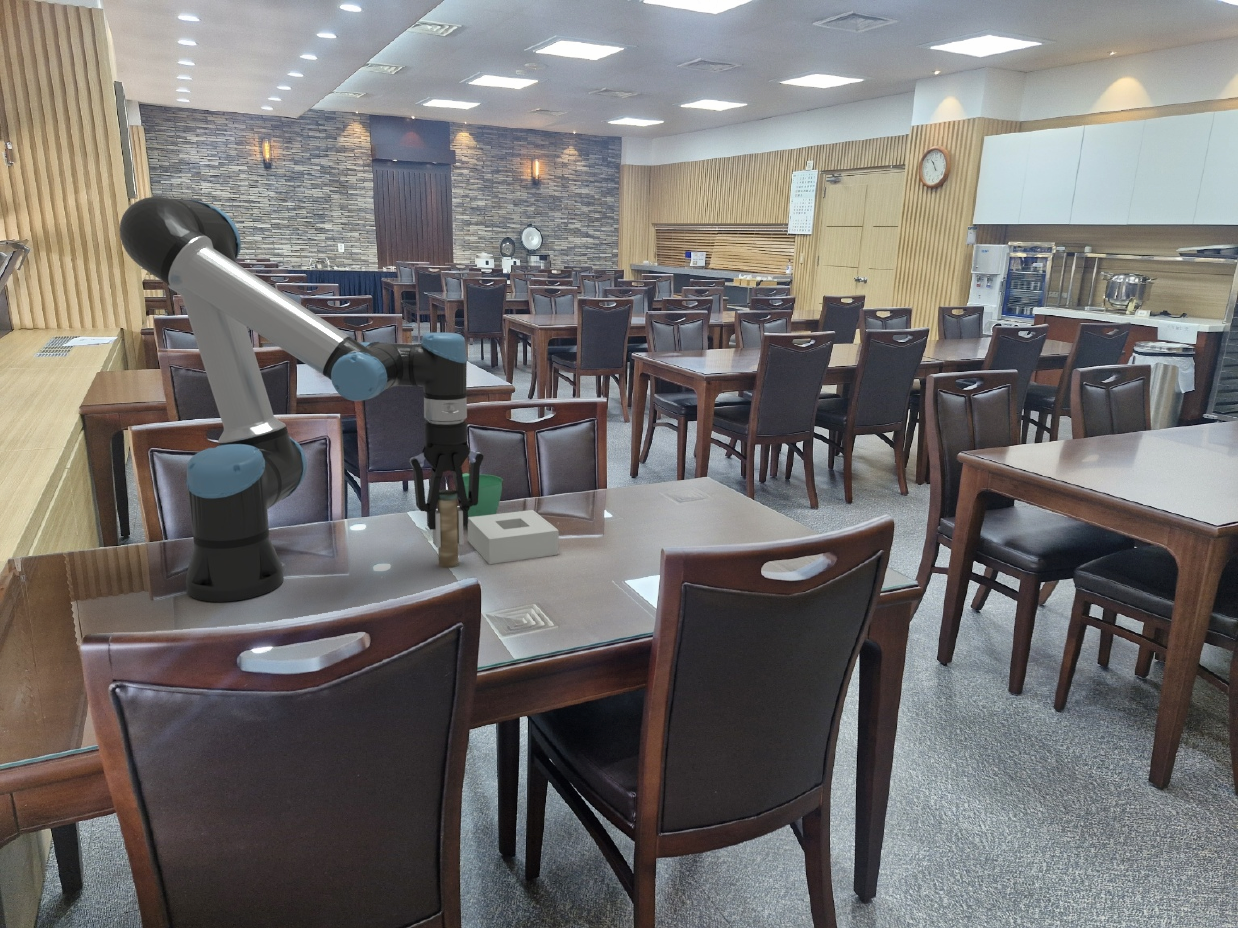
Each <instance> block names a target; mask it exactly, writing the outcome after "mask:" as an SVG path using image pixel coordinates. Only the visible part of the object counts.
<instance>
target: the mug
mask: <svg viewBox="0 0 1238 928" xmlns="http://www.w3.org/2000/svg"><path fill="white" fill-rule="evenodd" d="M462 476H463V481H464V486H465V491H466V496H467V499H468V489H469V472H466V473H463V475H462ZM503 486H504V479H503V478H502V477H500V476H497V475H492V474H479V493H478V504H477V505H475V506H474V505H473V506H471V507H470V509H469V510H468V517H475V516H484V515H493V514H497V511H498V508H499V506H500V501H501V496H502V492H503Z"/></svg>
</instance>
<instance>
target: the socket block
mask: <svg viewBox="0 0 1238 928" xmlns="http://www.w3.org/2000/svg"><path fill="white" fill-rule="evenodd" d="M559 532H560V531H559V530H558V528H556V527H555V526H554V525H553V524H551V523H550V522H549V521H547V520H546V519H545V518H543V516H541V515H540V514H539V513H537V512H536V511H535V510H533V509H529V510H520V511H513V512H512V511H511V512H504V513H503V512H502V513H496V514H493V515H484V516H475V517H468V524H467V541H468V543H469V544H470V545H471V546H472V547H473V548H474V549H475V551H477V552H478V553H479V555H480V556H481V557H482V558H483V559H484V560H485V561H486V562H487V563H488V565H495V564H500V563H501V564H502V563H509V562H516V561H523V560H529V559H536V558H544V557H545V558H546V557H550V556H558V555H559V545H560V544H559V539H560V537H559V535H560V533H559Z"/></svg>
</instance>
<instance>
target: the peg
mask: <svg viewBox="0 0 1238 928" xmlns="http://www.w3.org/2000/svg"><path fill="white" fill-rule="evenodd" d="M457 507H458V493H457V491H456V489H455V490H454V489H442V490H440V489H439V495H438V501H437V507H436V510H437V511H438V512H439V513H440V534H441V547H438V548H437V550H438V566H439V567H441V568H445V569H446V568H448V569H449V568H454V567H455V568H456V567H457V566H459V544H458V510H457Z"/></svg>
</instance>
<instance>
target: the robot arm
mask: <svg viewBox="0 0 1238 928" xmlns="http://www.w3.org/2000/svg"><path fill="white" fill-rule="evenodd" d="M119 237H120V241H121V244H122V246H123V248H124V250H125V252H126V253H127V255H128V256H129V257H130V259H132V261H133V262H135V264H137V265H138V266H140V267H141V268H142V269H143V270H145V271H147V272H148V273H149V274H151V275H153V276H154V277H156V278H157V279H158V280H160V281H162V282H163V283H164V284H167V287H168V288H169V289H170V290H172V291H174V293H177V294H178V295H180V297H181V299H182V301H183V305H184V308H185V312H186V314H187V317H188V320H189V324H190V326H191V330H192V333H193V336H194V339H195V343H196V345H197V348H198V352H199V355H200V358H201V360H202V361H201V362H202V365H203V367H204V370H205V373H206V376H207V380H208V383H209V385H210V389H211V392H212V396H213V398H214V401H215V405H216V408H217V411H218V414H219V417H220V420H221V423H222V426H223V432H222V433H221V434H220V437H219V439H218V440H217V441H218V445H217V446H216V447H208V448H205V449H204V450H203V449H202V450H201V451H199V452H196V453H195V454H194V455H192V456H191V457H190V458H189V460H188V462H187V465H186V478H185V480H186V487H187V492H188V493H187V494H188V502H189V503H188V504H189V511H190V520H191V530H192V538H193V540H192V541H193V549H192V553H191V557H190V560H189V565H188V567H187V572H186V576H185V588H186V593H187V595H188V596H190V597H191V598H193V599H196V600H200V601H203V602H213V603H214V602H215V603H216V602H218V603H220V602H223V603H225V602H234V601H235V602H236V601H241V600H242V601H243V600H248V599H251V598H257V597H259V596H262V595H265V594H267V593H269V592H271V591H274V590H276V589H277V588H279V586H281V585H282V583H283V582H284V567H283V565H282V562H281V560H280V558H279V556H278V554H277V551H276V549H275V547H274V545H273V543H272V540H271V537H270V530H269V529H270V528H269V527H270V526H269V525H270V524H269V515H268V514H269V513H268V510H269V509H270V508H272V507H273V506H275V505H276V504H278V503H279V502H280V501H282V500H285V499H286V498H288V497H289V496H291V495H292V494H293V493H294V492H295V491H296V490H297V489H298V488H299V487H300V485H302V483H303V482H304V479H305V478H306V474H307V468H308V460H307V456H306V453H305V451H304V449H303V447H302V446H301V445H300V443H299V442H298V441H296V440H294V439H293V438H292V437H291V436H290V434H289V432H288V428H287V427H288V426H287V425H286V423H285V422H283V421H282V420H279V419H277V418H276V417H275V415H274V412H273V409H272V406H271V403H270V399H269V396H268V393H267V388H266V386H265V383H264V380H263V376H262V373H261V369H260V366H259V364H258V363H259V362H258V360H257V357H256V352H255V350H254V346H253V343H252V340H251V337H250V334H249V329H250V330H251V331H253V332H255V333H256V334H258V335H259V336H261V337H263V339H266V340H267V341H268V342H271V343H272V344H274V345H275V346H276V347H278V348H280V349H281V350H283V351H285V352H286V353H288V354H289V355H291V356H293V357H295V359H298V361H300V362H302V363H303V364H305V365H306V366H308V367H310V368H311V369H313V370H315V371H316V372H318V373H319V374H321V375H323V376H324V377H326V378H328V379H329V380H330V381H331V383H332V386H333V387H334V389H335V391H336V393H338V394H339V396H341V397H342V398H344V399H345V400H348V401H353V402H361V401H366V400H370V399H373V398H376V397H378V396H379V395H380V394H381V393H383V392H384V391H387V390H388V389H391V388H392V387H415V388H416V387H418V388H419V387H422V388H423V418H424V419H425V420H426V421H425V422H424V445H423V446H424V447H423V449H422V451H421V452H422V453H419V454H417V455H415V456H413V455H412V456H409V458H408V462H409V464H410V466H411V468H412V475H413V484H414V494H415V504H416V507H417V508H418V510H419V511H420V512H424V513H426V525H427V527H428V529H429V530H430V531H431V530H432V544H433V545H434V546H435V548H437V549H438V547H441V534H440V513H439V512H438V509H437V501H438V495H439V491H440V488H441V482H442V478H443V476H444V475H443V474H444V473H446V472H448V471H450V472H451V474H452V478H453V483H454V488H455V491H457V493H458V498H457V504H458V505H459V506H457V510H458V546H462V545H464V527H468V510H469V509H470V507H471V506H473V505H474V506H475V505H477V504H478V493H479V475H481V473H480V472H481V471H480V469H481V465H482V463H483V460H484V455H483V453H481V452H479V451H477V450H476V451H474V450H472V449H471V448H470V446H469V445H468V423H467V421H466V419H467V418H468V407H467V405H468V403H467V402H468V401H467V400H468V399H467V394H468V393H467V375H468V373H467V371H468V370H467V369H468V368H467V367H468V366H467V365H468V363H467V362H468V358H467V353H466V349H467V347H466V340H465V338H464V336H463V335H462V334H459V333H455V332H426V333H424V334H423V335H422V337H421V338H422V339H421V342H420V343H401V342H400V343H397V342H380V341H370V342H369V341H368V342H364V341H362V342H358V341H357V340H355V339H354V338H352V337H350V335H348V334H347V333H345V332H344V331H342V330H340V329H339V328H337V327H336V326H334V325H333V324H331V323H330V322H328V321H326V320H325V319H323V318H322V317H320V316H318V315H317V314H316V313H314V312H312V311H311V310H309V309H308V308H306V307H305V306H303V305H302V304H301V303H299V302H297V301H296V300H294V299H292V298H291V297H289V296H288V295H286V294H285V293H284V292H282V291H280V290H278V289H277V288H276V287H274V286H272V285H271V284H270V283H268V282H266V281H264V280H263V279H261V277H258V276H256V275H255V274H253V273H252V272H250V271H249V270H247V269H246V268H244V267H243V266H242V265H240V264H238V262H237V260H238V257H239V254H240V253H241V249H242V239H241V235H240V232H239V228H238V227H237V225H236V224H235V222H234V221H233V220H232V219H231V217H230V216H229V215H228V214H227V213H226V212H225V211H223V210H222V209H220V208H219V207H216V206H214V205H211V204H208V203H207V202H203V201H200V200H195V199H194V200H193V199H191V200H185V199H178V198H177V199H176V198H170V197H164V196H151V197H150V196H149V197H144V198H142V199H139V200H137V201H136V202H134V203H132V204H131V205H130V206H129V207H128V208H127V209H126V210H125V211H124V212H123V215H122V217H121V220H120V223H119ZM467 458H468V461H469V472H468V474H469V489H468V499H467V496H466V491H465V486H464V481H463V476H462V475H463V474H464V473H463V468H462V465H463V464H464V462H465V461H466V460H467ZM425 460H426V461H427V462H428V463H429V465H430V467H431V469H430V480H429V486H428V491H427V500H426V494H425V493H426V491H425V483H424V482H425V480H424V472H423V471H424V470H423V467H424V466H425V463H424V462H425Z"/></svg>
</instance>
